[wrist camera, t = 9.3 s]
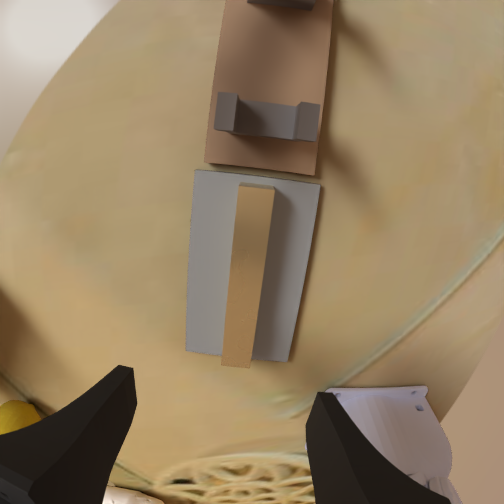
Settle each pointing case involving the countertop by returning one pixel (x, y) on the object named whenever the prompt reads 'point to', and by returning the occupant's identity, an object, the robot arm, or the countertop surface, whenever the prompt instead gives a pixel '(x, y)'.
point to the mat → (219, 258)
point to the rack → (270, 84)
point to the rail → (246, 271)
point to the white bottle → (127, 497)
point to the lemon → (17, 416)
